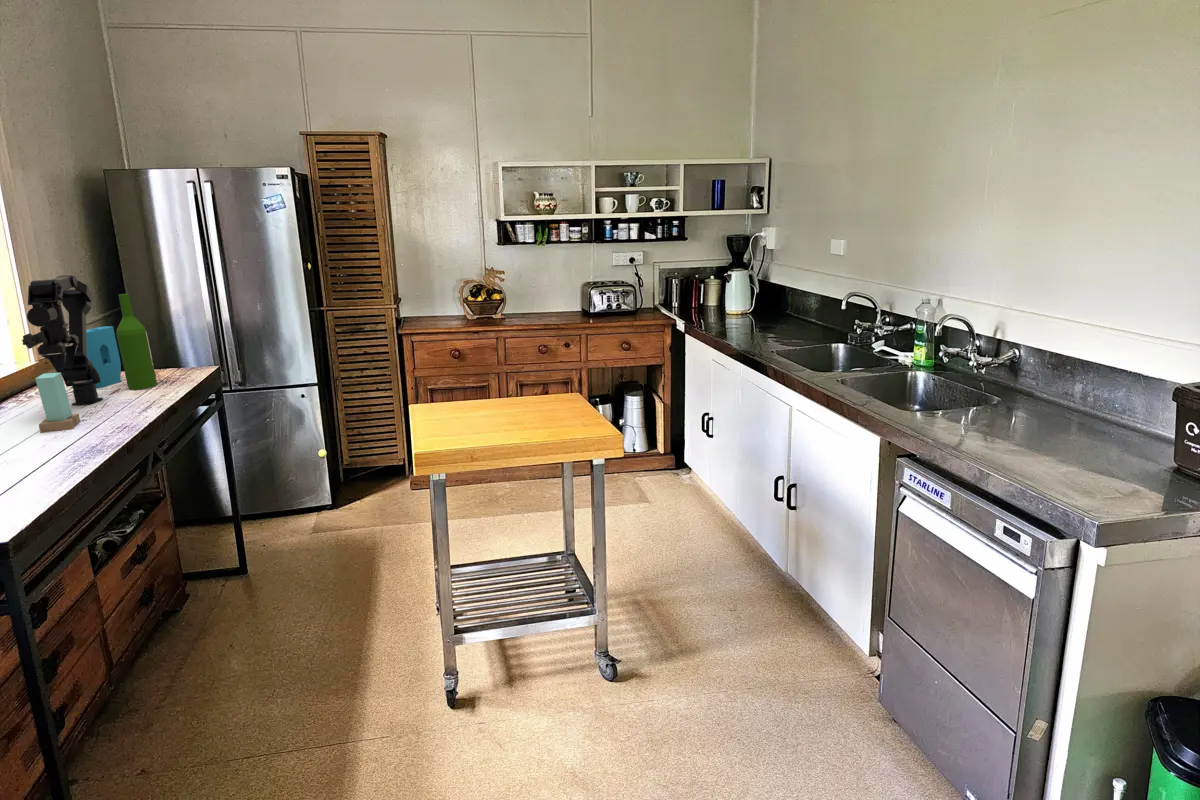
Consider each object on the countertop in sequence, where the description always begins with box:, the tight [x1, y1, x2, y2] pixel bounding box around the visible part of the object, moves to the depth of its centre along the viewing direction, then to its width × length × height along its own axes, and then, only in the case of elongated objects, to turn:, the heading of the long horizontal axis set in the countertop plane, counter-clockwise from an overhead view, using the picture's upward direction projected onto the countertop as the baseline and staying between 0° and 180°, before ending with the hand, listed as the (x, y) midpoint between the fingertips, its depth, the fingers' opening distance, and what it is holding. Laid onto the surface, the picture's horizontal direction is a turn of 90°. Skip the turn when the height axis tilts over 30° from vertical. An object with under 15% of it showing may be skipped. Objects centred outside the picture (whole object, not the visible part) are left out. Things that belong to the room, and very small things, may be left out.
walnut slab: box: [38, 413, 81, 434], centre depth 224 cm, size 8×8×3 cm
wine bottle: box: [116, 293, 158, 391], centre depth 266 cm, size 9×9×32 cm
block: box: [86, 325, 122, 389], centre depth 274 cm, size 12×5×20 cm, turn 164°
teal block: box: [34, 372, 73, 421], centre depth 222 cm, size 5×5×13 cm
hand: (65, 371), depth 237 cm, fingers open, 9 cm apart
